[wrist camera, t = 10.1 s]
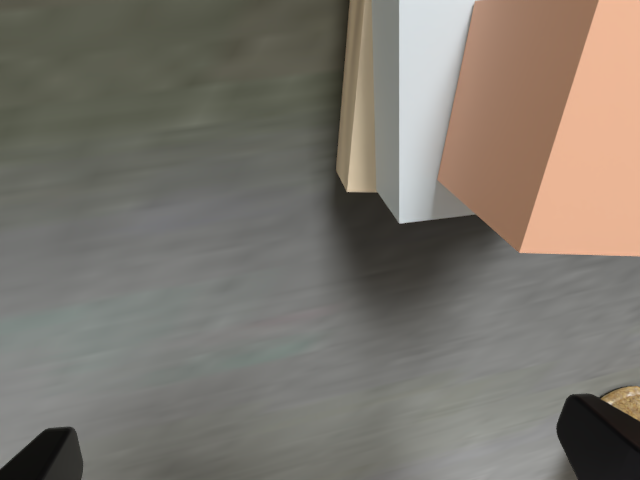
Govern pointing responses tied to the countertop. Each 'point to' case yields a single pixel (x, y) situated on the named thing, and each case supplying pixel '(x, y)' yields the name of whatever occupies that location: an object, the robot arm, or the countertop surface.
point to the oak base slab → (358, 104)
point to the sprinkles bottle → (625, 400)
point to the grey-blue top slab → (416, 101)
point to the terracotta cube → (550, 125)
